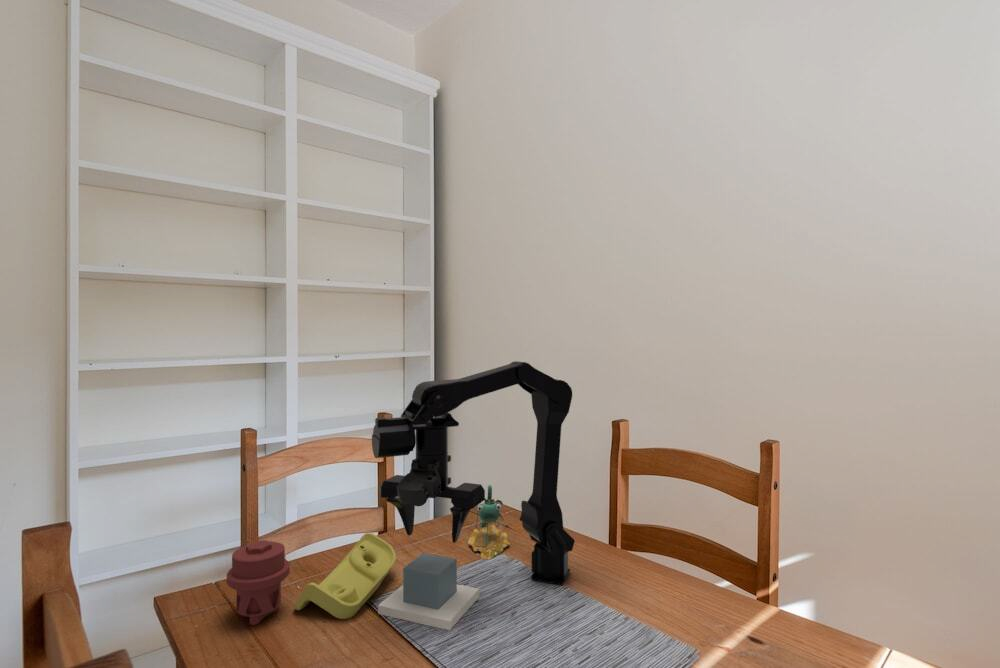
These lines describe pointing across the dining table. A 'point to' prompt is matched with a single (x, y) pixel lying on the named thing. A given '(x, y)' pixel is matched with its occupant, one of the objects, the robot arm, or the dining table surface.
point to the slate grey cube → (430, 580)
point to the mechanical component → (258, 578)
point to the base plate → (430, 616)
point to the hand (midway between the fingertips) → (432, 538)
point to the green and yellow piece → (489, 529)
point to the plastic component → (352, 578)
